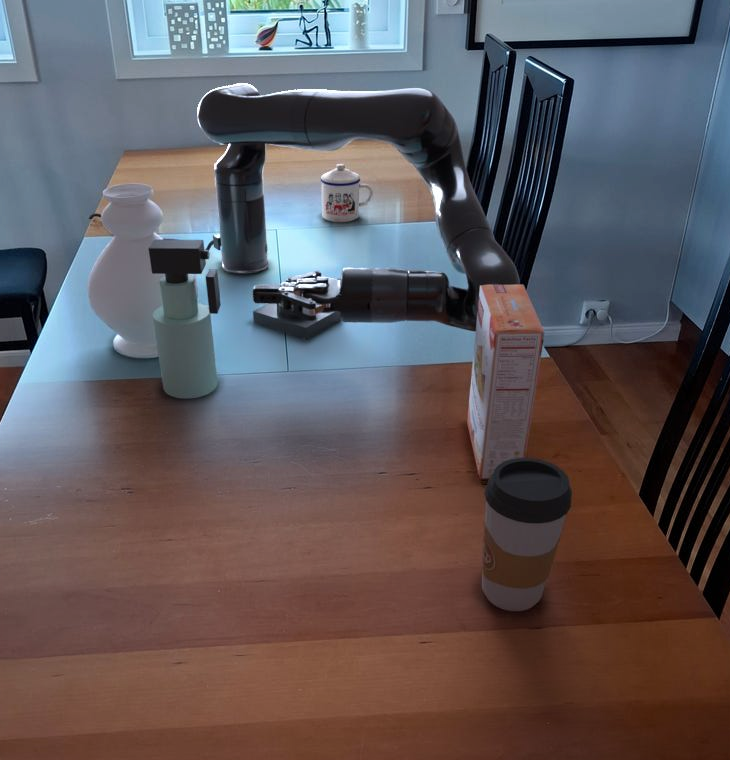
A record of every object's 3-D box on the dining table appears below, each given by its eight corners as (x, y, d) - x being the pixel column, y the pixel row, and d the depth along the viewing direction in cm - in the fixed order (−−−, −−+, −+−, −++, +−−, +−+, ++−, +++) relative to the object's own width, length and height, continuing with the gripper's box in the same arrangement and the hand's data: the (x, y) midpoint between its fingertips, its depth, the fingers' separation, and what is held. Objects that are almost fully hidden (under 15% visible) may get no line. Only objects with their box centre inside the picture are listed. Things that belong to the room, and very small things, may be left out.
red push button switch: (253, 322, 144) (252, 301, 141) (289, 304, 150) (288, 283, 147) (306, 339, 138) (305, 317, 135) (341, 319, 144) (341, 298, 142)
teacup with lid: (321, 223, 187) (320, 170, 180) (321, 211, 194) (320, 159, 187) (373, 222, 187) (374, 169, 180) (371, 210, 194) (372, 158, 187)
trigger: (209, 313, 116) (205, 276, 113) (212, 305, 119) (209, 268, 115) (217, 313, 116) (213, 276, 113) (220, 305, 119) (217, 269, 115)
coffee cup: (464, 569, 90) (478, 457, 81) (537, 564, 91) (559, 452, 82) (482, 622, 84) (499, 507, 74) (561, 616, 84) (588, 501, 75)
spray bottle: (157, 398, 122) (135, 254, 109) (169, 372, 129) (149, 233, 116) (217, 399, 122) (202, 254, 108) (226, 373, 128) (212, 234, 115)
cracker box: (463, 424, 115) (478, 282, 102) (506, 424, 115) (526, 282, 102) (475, 481, 104) (494, 329, 91) (523, 481, 103) (548, 329, 91)
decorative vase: (163, 311, 148) (143, 168, 133) (224, 340, 138) (210, 189, 123) (77, 342, 138) (45, 191, 123) (137, 376, 128) (110, 216, 113)
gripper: (375, 253, 118) (257, 251, 119) (374, 288, 107) (245, 286, 108) (374, 302, 122) (260, 300, 123) (373, 340, 112) (248, 338, 113)
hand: (253, 294), depth 116 cm, fingers closed
